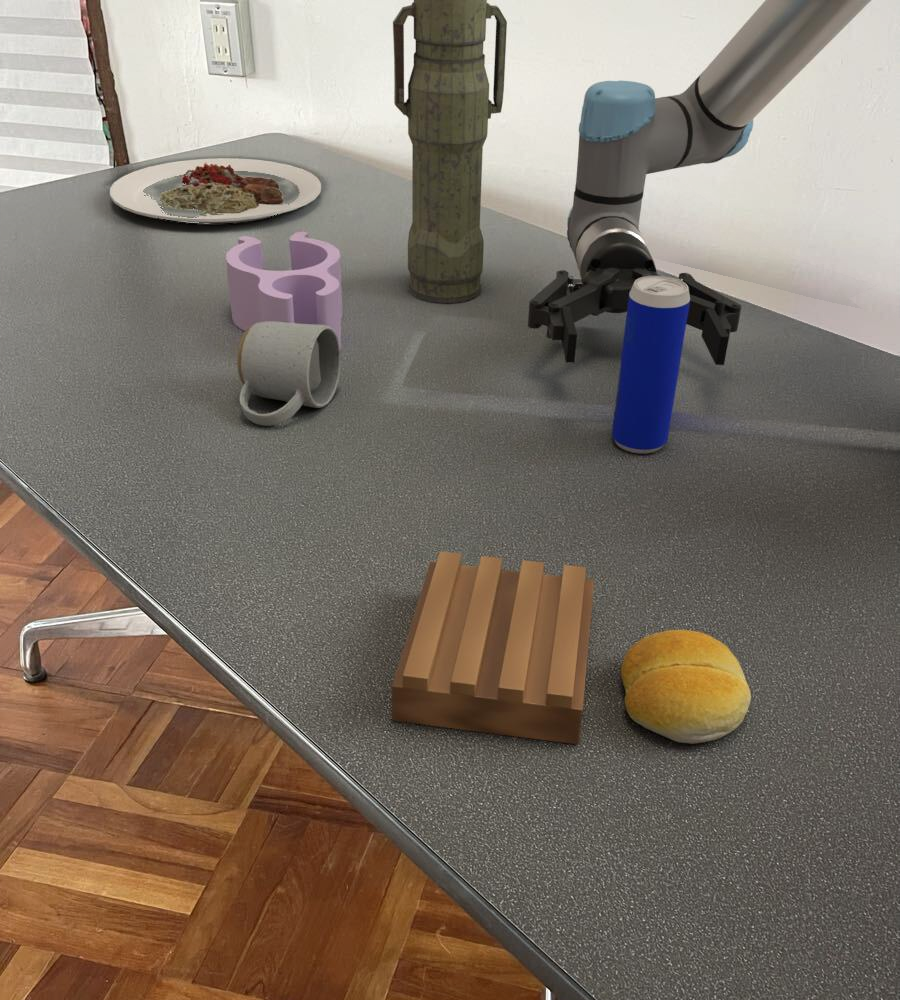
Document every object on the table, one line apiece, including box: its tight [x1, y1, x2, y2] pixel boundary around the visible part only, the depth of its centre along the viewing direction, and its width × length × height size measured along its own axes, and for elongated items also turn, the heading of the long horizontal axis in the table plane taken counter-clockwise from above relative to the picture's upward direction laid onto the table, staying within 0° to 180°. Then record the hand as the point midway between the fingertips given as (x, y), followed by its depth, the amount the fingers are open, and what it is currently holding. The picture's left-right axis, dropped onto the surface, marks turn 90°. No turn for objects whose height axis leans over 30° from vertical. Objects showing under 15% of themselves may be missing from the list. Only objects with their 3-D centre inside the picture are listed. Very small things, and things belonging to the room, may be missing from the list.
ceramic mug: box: [236, 321, 342, 427], centre depth 102 cm, size 11×8×8 cm
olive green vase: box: [392, 0, 508, 304], centre depth 119 cm, size 9×12×35 cm
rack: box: [391, 550, 595, 745], centre depth 73 cm, size 12×14×4 cm
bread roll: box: [620, 629, 752, 744], centre depth 70 cm, size 8×9×4 cm
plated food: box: [109, 157, 322, 224], centre depth 155 cm, size 30×30×3 cm
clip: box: [225, 231, 344, 352], centre depth 118 cm, size 20×12×7 cm, turn 17°
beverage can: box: [611, 275, 690, 455], centre depth 95 cm, size 5×5×15 cm
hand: (647, 350), depth 96 cm, fingers open, 13 cm apart
